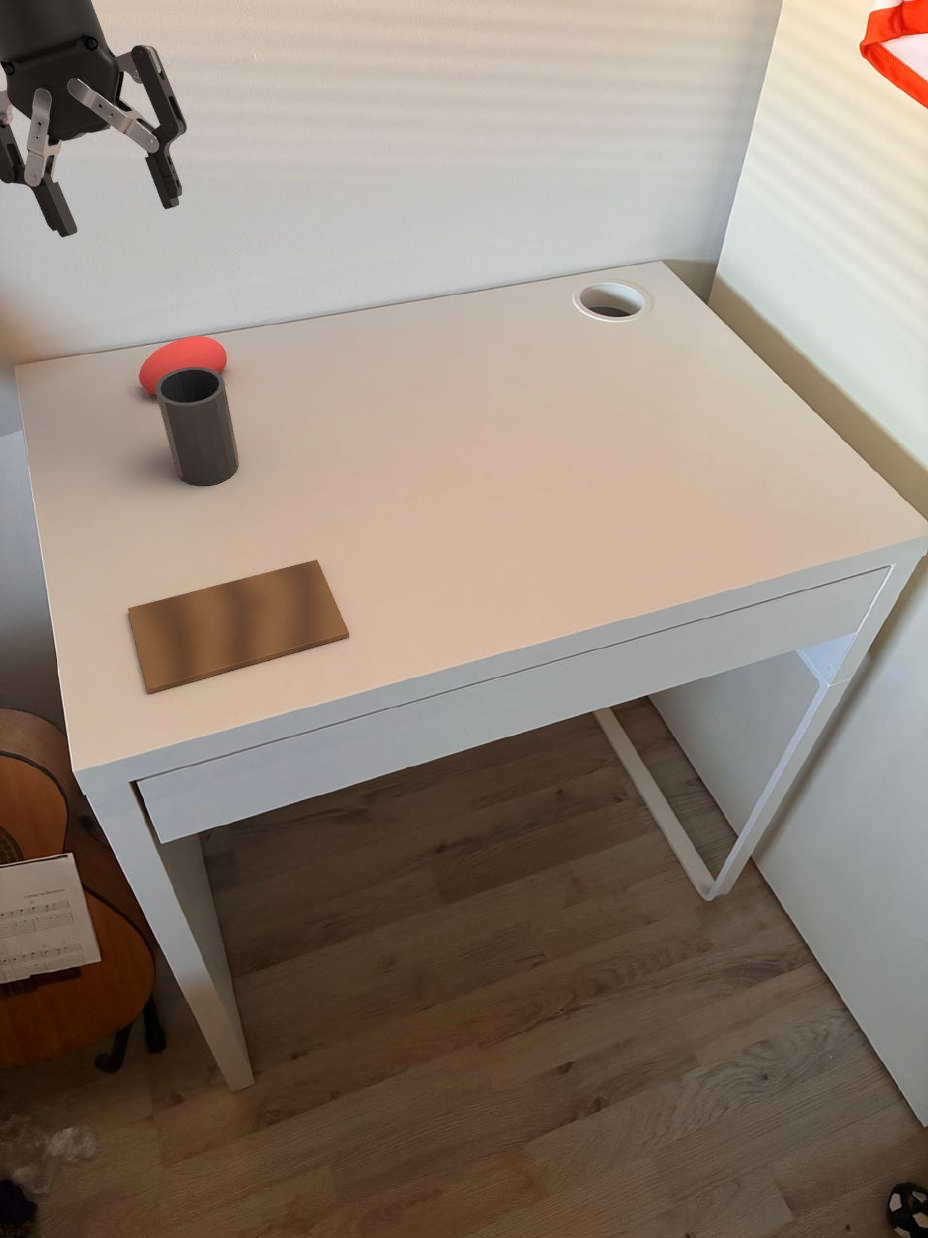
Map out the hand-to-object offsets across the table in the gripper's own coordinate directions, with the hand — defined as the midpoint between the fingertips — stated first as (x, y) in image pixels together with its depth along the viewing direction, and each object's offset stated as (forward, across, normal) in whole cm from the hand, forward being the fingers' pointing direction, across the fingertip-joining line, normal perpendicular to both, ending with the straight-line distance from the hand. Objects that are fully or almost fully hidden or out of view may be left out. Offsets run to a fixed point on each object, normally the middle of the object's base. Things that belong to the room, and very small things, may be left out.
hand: (121, 220), depth 73 cm
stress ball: (+18, -7, +20) cm, 27 cm away
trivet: (+30, +1, -12) cm, 32 cm away
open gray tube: (+22, -4, +7) cm, 24 cm away
